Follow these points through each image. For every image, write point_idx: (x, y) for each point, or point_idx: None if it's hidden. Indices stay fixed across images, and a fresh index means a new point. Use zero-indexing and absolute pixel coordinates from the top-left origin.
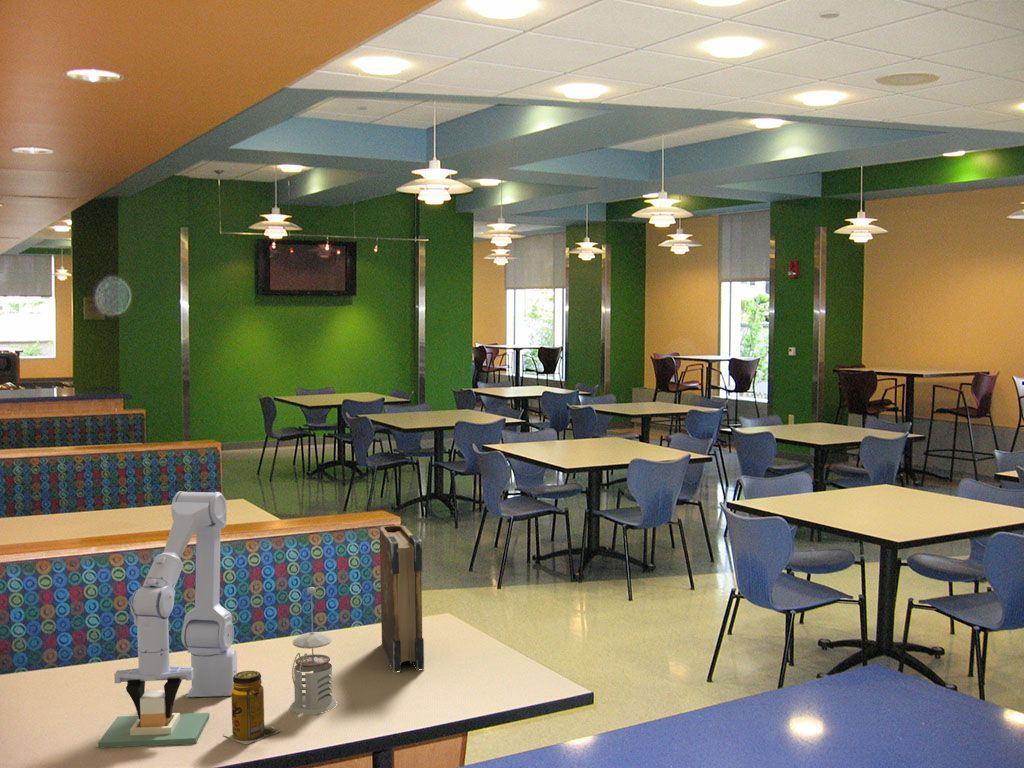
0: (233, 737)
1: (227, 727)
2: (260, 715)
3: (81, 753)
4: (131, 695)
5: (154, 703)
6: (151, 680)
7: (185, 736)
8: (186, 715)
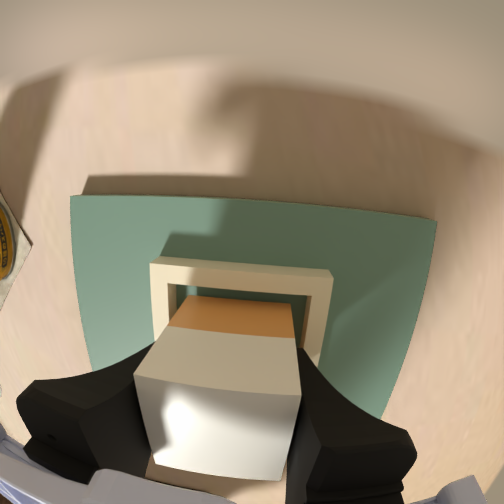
0: (10, 223)
1: (41, 306)
2: None
3: (464, 182)
4: (364, 416)
5: (203, 363)
6: (126, 476)
7: (103, 217)
8: None
